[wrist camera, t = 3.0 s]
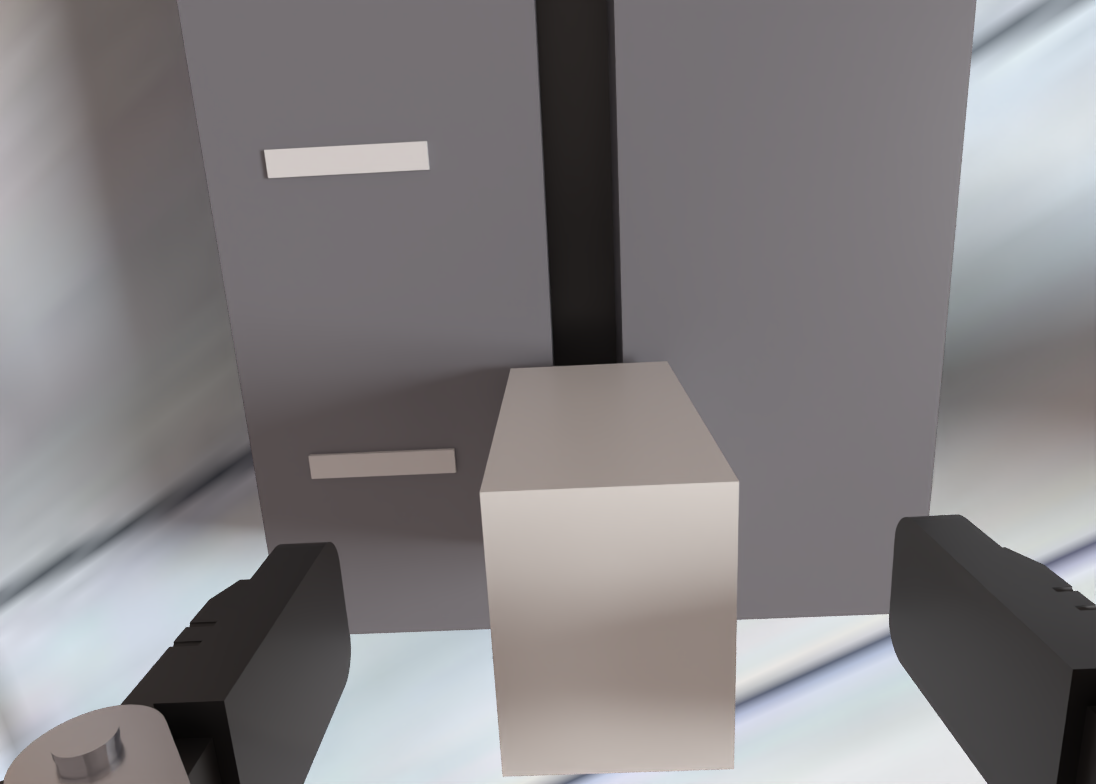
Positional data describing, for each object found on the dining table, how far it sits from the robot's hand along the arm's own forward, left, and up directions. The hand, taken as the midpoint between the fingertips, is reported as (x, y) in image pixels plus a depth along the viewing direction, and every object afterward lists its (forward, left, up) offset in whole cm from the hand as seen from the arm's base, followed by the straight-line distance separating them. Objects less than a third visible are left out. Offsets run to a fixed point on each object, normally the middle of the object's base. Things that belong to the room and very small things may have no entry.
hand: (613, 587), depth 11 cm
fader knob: (0, 0, -6) cm, 6 cm away
